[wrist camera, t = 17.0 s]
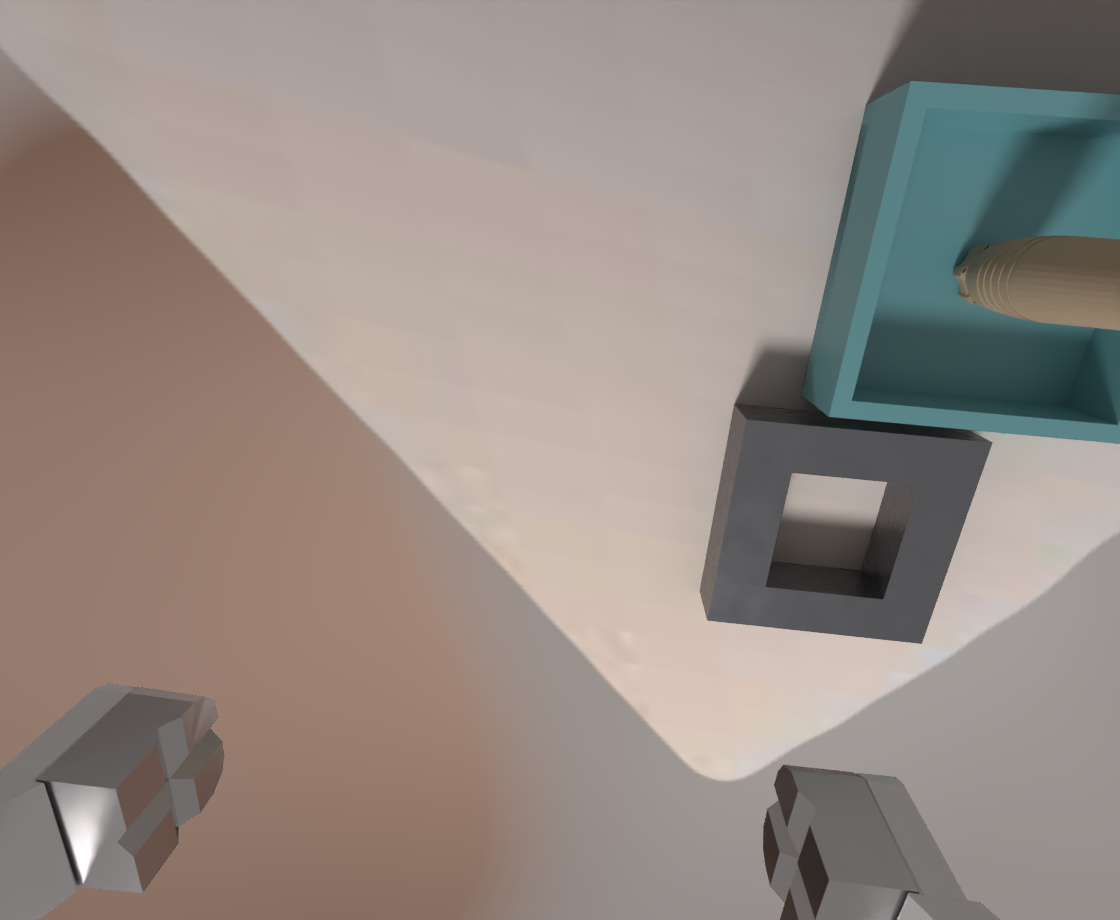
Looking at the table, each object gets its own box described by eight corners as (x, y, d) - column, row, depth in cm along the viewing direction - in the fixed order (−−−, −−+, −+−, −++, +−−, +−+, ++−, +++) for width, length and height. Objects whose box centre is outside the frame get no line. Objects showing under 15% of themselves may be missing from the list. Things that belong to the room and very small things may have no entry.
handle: (968, 201, 32) (1249, 170, 18) (1057, 266, 33) (1393, 285, 19) (904, 280, 34) (1116, 309, 20) (991, 340, 34) (1254, 409, 20)
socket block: (734, 404, 38) (746, 419, 35) (958, 425, 37) (992, 442, 34) (699, 591, 43) (707, 620, 39) (897, 612, 42) (921, 643, 39)
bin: (866, 104, 32) (911, 80, 27) (1177, 125, 31) (1279, 105, 26) (801, 394, 37) (828, 416, 33) (1063, 418, 37) (1130, 444, 32)
